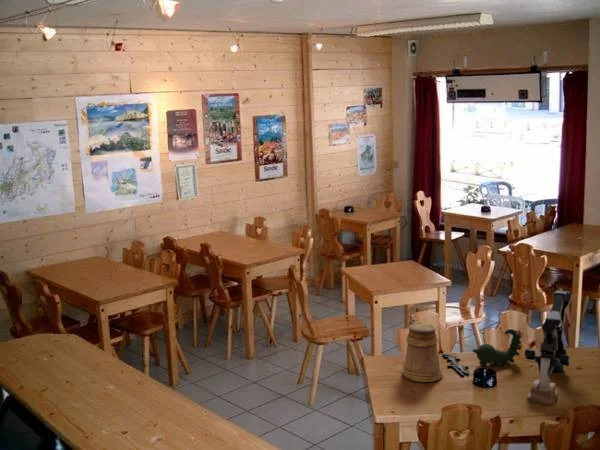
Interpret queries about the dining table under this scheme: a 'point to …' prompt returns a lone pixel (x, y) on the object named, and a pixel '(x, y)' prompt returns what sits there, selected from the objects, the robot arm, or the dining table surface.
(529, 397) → the clay rack
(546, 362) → the clay bar
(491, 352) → the toy figurine
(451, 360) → the nameplate
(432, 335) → the tankard
